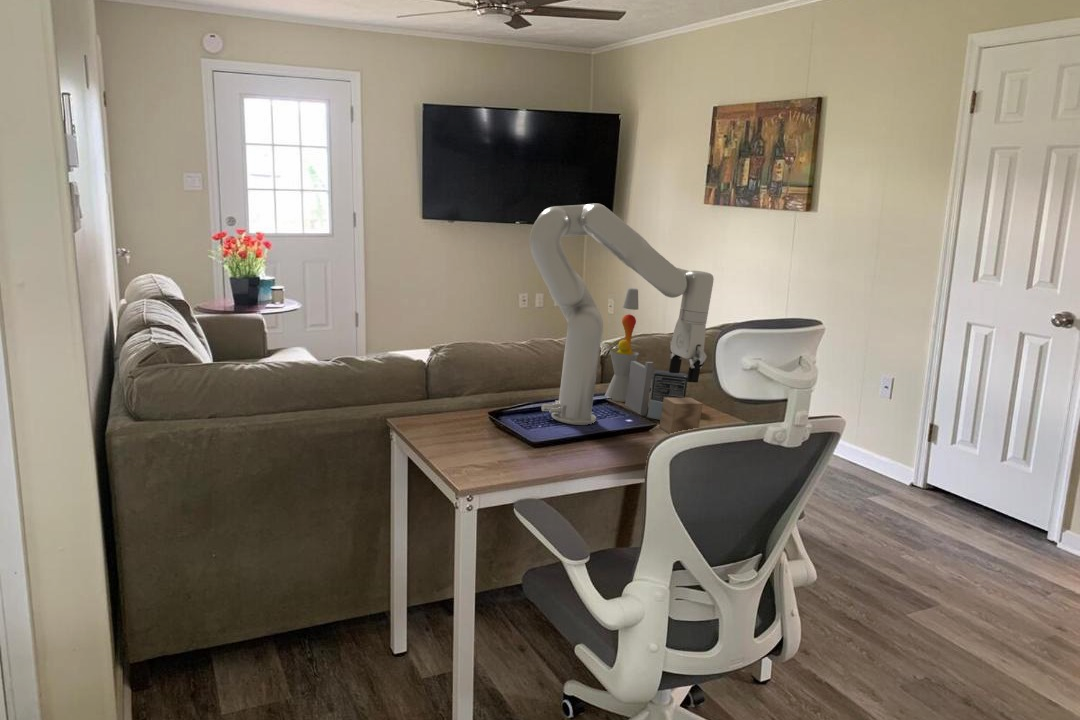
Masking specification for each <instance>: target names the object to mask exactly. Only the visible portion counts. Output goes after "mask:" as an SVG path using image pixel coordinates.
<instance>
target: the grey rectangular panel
mask: <svg viewBox="0 0 1080 720" xmlns="http://www.w3.org/2000/svg"><path fill="white" fill-rule="evenodd" d="M654 363H655V362H654V361H645V364H643V363H640V362H638V361H637V360H636V361H631V366H630V373H629V375H628V379H629V380H628V387H627V395H626V401H624V406H626V407H627V408H629V409H630V410H632V411H634V412H635V413H637V414H638V415H639V414H640V415H639V416H647V415H648V408H649V401H650V394H651V387H652V379H653V372H654V365H655V364H654Z"/></svg>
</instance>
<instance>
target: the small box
mask: <svg viewBox="0 0 1080 720" xmlns="http://www.w3.org/2000/svg"><path fill="white" fill-rule="evenodd" d="M687 377H688V373H684V372H679V373H670V372H669V370H668V371H667V370H659V369H653V372H652V379H651V386H650V394H649V401H650V400H656V401H660V402H663V399H664V398H686V394H687V385H688V382H687Z"/></svg>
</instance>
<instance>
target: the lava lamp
mask: <svg viewBox="0 0 1080 720" xmlns="http://www.w3.org/2000/svg"><path fill="white" fill-rule="evenodd" d="M622 308H623V309H627V310H633V311H635V310H637V311H638V310H639V290H638V288H634V287H629V288H628V289H627V291H626V295H625V297H624V301H623V305H622ZM621 324H622V326H623V330H624V335H625V336H624V339H621V340H620V341H618V345H617V346H618V348H611V349H609V352H610V358H611V362H612V368H613V372H614V374H613V376H612V379H611V380H610V383H609V385H608V387H607V389H606V392H605V394H604V397H605V396H609V397H611V398H612V400H611V401H616V402H626V395H627V387H628V380H629V373H630V366H631V361H637V358H638V357H639V355H640V354H639V352H638V351H635V350H632V335H633V332H634V329H635V326H636V324H637V319H636V317H635V316H634V315H633V314H630V313H629V314H625V315H624V316H623V317H622V319H621Z"/></svg>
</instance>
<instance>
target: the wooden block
mask: <svg viewBox="0 0 1080 720" xmlns="http://www.w3.org/2000/svg"><path fill="white" fill-rule="evenodd" d="M703 405H704V404H703V403H702V402H701V401H698V400H696V399H694V398H693V397H685V398H664V399H663V406H662V412H661V419H660V420H659V427H658V428H659V430H661V431H663V432H664V433H666V434H668V435H669V434H670V433H674V432H678V431H682V430H688V429H693V428H699V429H700V423H701V422H700V421H701V417H702V416H701V415H702V410H703Z"/></svg>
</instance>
